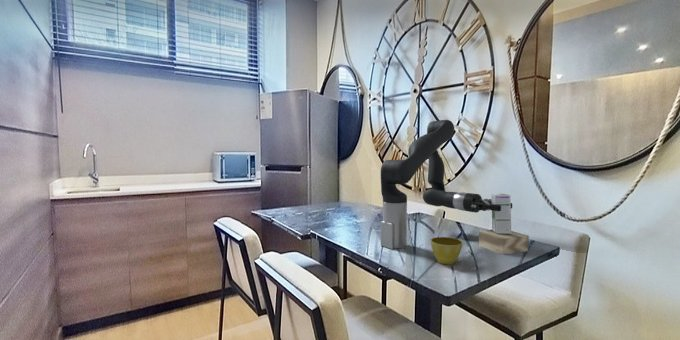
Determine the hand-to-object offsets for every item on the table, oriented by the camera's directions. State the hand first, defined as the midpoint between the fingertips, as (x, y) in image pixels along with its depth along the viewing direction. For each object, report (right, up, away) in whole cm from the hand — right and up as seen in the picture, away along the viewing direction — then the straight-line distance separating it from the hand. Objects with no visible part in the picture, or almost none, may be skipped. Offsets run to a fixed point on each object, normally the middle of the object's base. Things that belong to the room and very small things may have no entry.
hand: (506, 207), depth 130 cm
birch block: (-1, -16, +1) cm, 16 cm away
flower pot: (-27, -17, -14) cm, 35 cm away
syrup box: (-1, -10, +1) cm, 10 cm away
